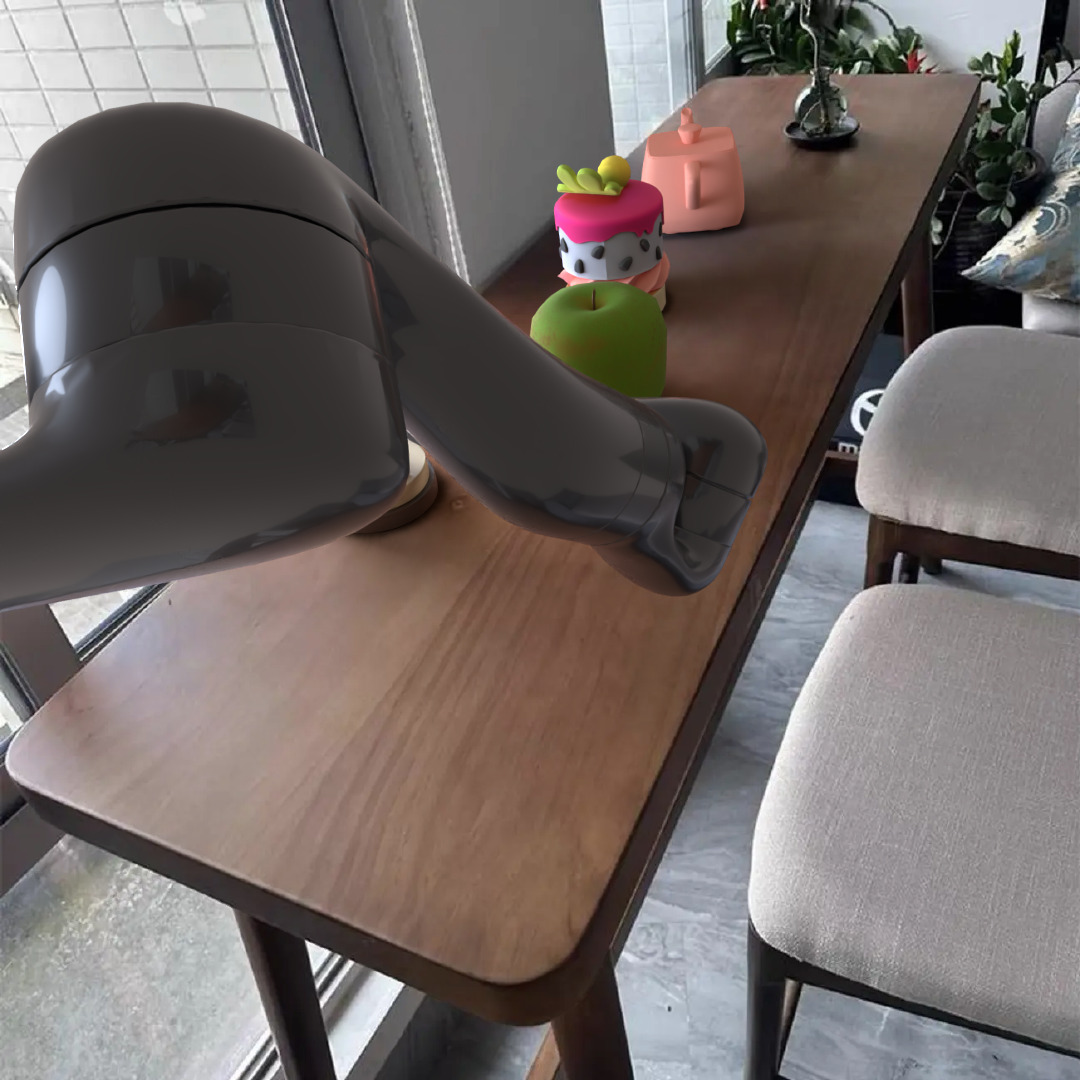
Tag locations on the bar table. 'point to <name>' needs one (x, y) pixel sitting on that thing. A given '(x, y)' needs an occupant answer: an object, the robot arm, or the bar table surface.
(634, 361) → the apple
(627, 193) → the cake
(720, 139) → the teapot
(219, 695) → the bar table surface
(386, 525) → the round push button
